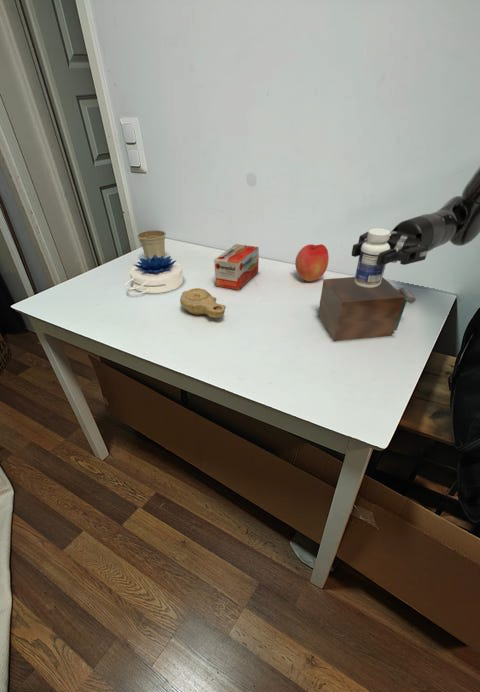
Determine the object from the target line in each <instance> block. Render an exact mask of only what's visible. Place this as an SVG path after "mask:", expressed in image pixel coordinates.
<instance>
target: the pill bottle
mask: <svg viewBox="0 0 480 692" xmlns="http://www.w3.org/2000/svg"><path fill="white" fill-rule="evenodd" d="M367 232H368V235H367V240H368V241H366V242H365V243H363V244H362V246H361V251H360V255H359V256H358V260H357V265H356V271H355V275H354V277H355V283H356V284H357V285H359V286H362V287H368V288H372V287H376V286H378V285H380V283H381V280H382V277H383V278H384V273H385V270H386V265H387V264H384V265H381V266H379V265H377V264H376V263H377V259H378V255H379V254H380V253H381V252H384V251H386V250H389V249H390V246H389V244H388V243H387V241H388V240H389V237H390V232H391V231H390V230H389V229H385V228H380V227H379V228H378V227H377V228H376V227H375V228H371V229H369V230H368V231H367Z"/></svg>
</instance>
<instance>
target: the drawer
mask: <svg viewBox="0 0 480 692" xmlns="http://www.w3.org/2000/svg"><path fill="white" fill-rule="evenodd" d="M398 291H399V292H400V293H401V294H402V295H403V296H404V297H405V299H404V302H403V305H402V307H401V310H400V313H399V316H398V319H397V322H396V325H395V328H394V331H393V332H396V331H398V328H399V324H400V322H401V319H402V316H403V313H404V311H405V308H406V304H407V303H408V304H410V305H411V304H414V303H415V302H416V297H415V296H414V295H413V294H412V293H411V292H409V291H408V290H407V289H406V288H405V287H401V288H399V290H398Z"/></svg>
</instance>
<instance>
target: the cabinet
mask: <svg viewBox="0 0 480 692" xmlns="http://www.w3.org/2000/svg"><path fill="white" fill-rule="evenodd" d="M322 280H323V281H322V287H321V293H320V300H319V305H318V312H317V317H318V318H319V320H320V322H321V323H322V325H323V326H324V328H325V330H326V332H328V334H329V336H330V337H331V339H332V340H333V341H334V342H339V341H350V340H361V339H372V338H380V337H382V338H383V337H390V336H392V337H393V334H394V332H395V331H394V328H395V325H396V322H397V319H398V316H399V313H400V310H401V307H402V305H403V302H404V299H405V297H404V296H403V295H402V294H401V293H400V292H399V290H398V289H396V287H394V286H393V285H392V284H391V283H390V282H389V281H388V280H387V279H385V278H384V276H383V277H382V280H381V283H380V285H378V286H376V287H372V288H368V287H362V286H359V285H357V284H356V283H355V276H350V277H348V276H347V277H337V278H336V277H335V278H324V279H322Z"/></svg>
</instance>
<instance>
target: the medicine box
mask: <svg viewBox="0 0 480 692" xmlns="http://www.w3.org/2000/svg"><path fill="white" fill-rule="evenodd" d="M259 255H260V253H259V246H255V245H254V246H253V245H246V244H240V243H235V244H233V245H232V246H231V247H230V248H228V249H227V250H225V251H224V252H222V253H221V254H219V255H218V256H216V257H215V258H214V259H213V264H214V265H213V266H214V277H215V286H216V287H220V288H224V289H225V288H226V289H231V290H237V291H239V290H241V289H242V288H243V287H244V286H245V285H246V284H247V283H249V281H251V279H253V278H254V277H255V276H256V275H258V273H259V263H260V261H259V260H260V258H259Z"/></svg>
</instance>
